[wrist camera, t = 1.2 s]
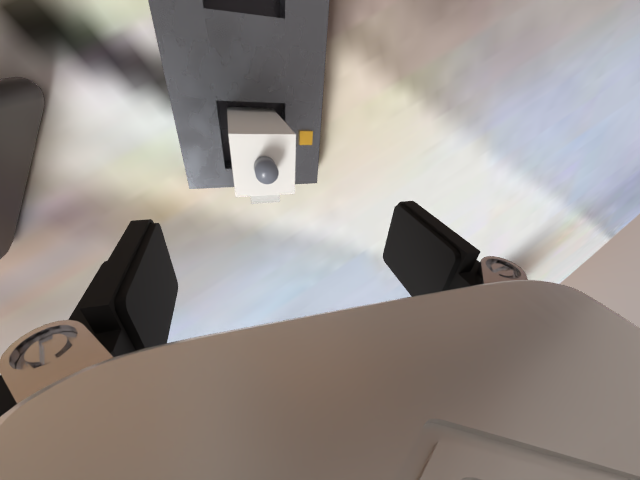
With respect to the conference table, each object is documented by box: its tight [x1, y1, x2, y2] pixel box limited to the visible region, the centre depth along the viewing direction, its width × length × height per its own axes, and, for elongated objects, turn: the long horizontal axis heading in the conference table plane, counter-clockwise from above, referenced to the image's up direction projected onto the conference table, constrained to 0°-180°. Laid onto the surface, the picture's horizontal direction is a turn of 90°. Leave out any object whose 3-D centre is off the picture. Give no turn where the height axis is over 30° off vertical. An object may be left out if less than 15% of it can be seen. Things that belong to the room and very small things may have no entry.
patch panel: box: [148, 0, 329, 189], centre depth 21 cm, size 20×12×3 cm, turn 176°
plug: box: [227, 107, 296, 204], centre depth 21 cm, size 5×4×11 cm
